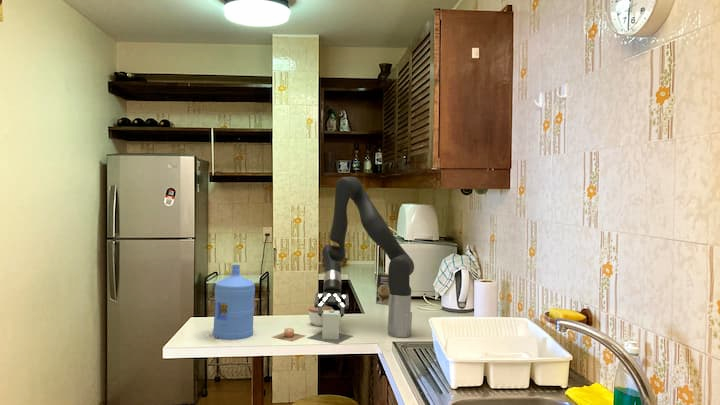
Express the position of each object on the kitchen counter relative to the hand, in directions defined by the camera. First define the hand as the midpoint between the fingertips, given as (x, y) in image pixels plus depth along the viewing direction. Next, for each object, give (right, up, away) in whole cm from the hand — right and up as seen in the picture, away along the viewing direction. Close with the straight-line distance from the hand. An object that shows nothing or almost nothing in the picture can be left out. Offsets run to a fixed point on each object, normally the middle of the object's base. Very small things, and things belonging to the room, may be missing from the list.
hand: (331, 316), depth 202 cm
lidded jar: (-6, -8, +17) cm, 20 cm away
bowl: (-17, -7, -4) cm, 19 cm away
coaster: (-17, -8, -4) cm, 19 cm away
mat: (0, -8, -2) cm, 9 cm away
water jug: (-39, -7, -4) cm, 40 cm away
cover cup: (0, -8, -2) cm, 8 cm away
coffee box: (+26, -9, +71) cm, 76 cm away
